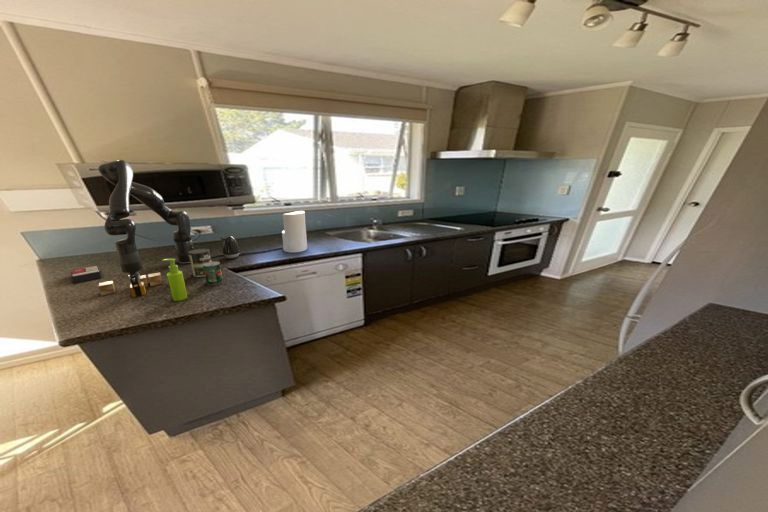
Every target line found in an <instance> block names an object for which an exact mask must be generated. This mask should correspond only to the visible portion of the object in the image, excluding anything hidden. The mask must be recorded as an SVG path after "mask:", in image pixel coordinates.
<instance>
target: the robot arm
mask: <svg viewBox="0 0 768 512" xmlns="http://www.w3.org/2000/svg"><path fill="white" fill-rule="evenodd" d="M98 172H99V174H100V175H101V176H102V177H103V178H104V179H105V180H106V181H108V182H109V183H111V184H112V185H114V186H115V188H114V189H113V191H112V192H111V194H110V196H109V199H108V211H109V212H108V215H107V218H106V220H105V222H104V225H103V227H104V232H105V233H106V234H107V235H109V236H114V237H115V236H123V235H126V237H125V238H121V239H118V240H116V241H115V242H114V246H115V249H116V251H117V252H116V253H117V258H118V262H119V265H120V269H121V272H122V273H124V274H125V273H126V274H128V275H127V276H128V280H129V281H130V284H132V287H133V289H134V290H135V294H136V297H140V295H141V296H143V295H142V293H141V289H140V276H141V274H140V272H139V271H141V270H142V269H143V264H142V260H141V257H140V253H139V251H138V248H137V244H136V231H137V230H136V229H137V224H136V223H135V222H134V220H132V219H131V218H128V217H130V216H131V208H130V207H131V205H130V197H131V196H132V197H133V198H135V199H136V200H137V201H139V202H140V203H141V204H143V205H144V206H145V207H147V208H148V209H150V210H151V211H153V213H155V214H157V215H158V216H159V217H160V218H161V219H162V220H163V221H165V222H166V223H167V224H169V225H170V226H175V227H177V230H175V231H172V238H173V242H174V247H175V251H176V255H177V256H176V257H177V260H178V264H180V265H181V264H183V265H184V264H191V262H190V257H189V253H188V252H189V251H191V250H194V249H195V248H194V244H193V240H192V235H191V234H192V233H191V231H192V228H191V221H190V217H189V213H188V212H186V211H185V210H173V209H171V208H170V207H168V206H167V205H165V201H164V198H163V196H162V195H161V194H160V193H158V192H157V191H156V190H154V189H153V188H152V187H150V186H147V185H144V184H141V183H138V182H135V181H133V179H134V170H133V167H132V165H130V163H129V162H127V161H126V160H123V159H115V160H112V161H109V162H108V161H107V162H105V163H101V164H100V165H99V166H98ZM282 249H284V248H283V246H282V247H277V248H273V249H266V250H261V251H253V252H242V253H240V252H239V255H240V256H241V255H250V254H261V253H266V252H272V251H277V250H282ZM210 257H211V259H214V258H219V257H225V256H224V254H218V255H215V256H210ZM134 285H138V286H134Z"/></svg>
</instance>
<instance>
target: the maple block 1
mask: <svg viewBox="0 0 768 512" xmlns="http://www.w3.org/2000/svg"><path fill="white" fill-rule="evenodd" d="M97 287H98V291H99V293H100V296H106V295H111V294H115V293H116V286H115V283H114V281H113V280H109V281H102V282H99V283H98V285H97Z"/></svg>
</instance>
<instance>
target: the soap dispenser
mask: <svg viewBox="0 0 768 512" xmlns="http://www.w3.org/2000/svg"><path fill="white" fill-rule="evenodd" d="M175 261H177V259H176V258H164V259H162V260H161V262H169V266H168V271H169V272H167V273H166V277H167V282H168V285H169V289H170V294H171V298H172V301H174V302H181V301H184V300H186V299H188V298H189V297H188V292H187V288H186V283H185V278H184V273H183V271H182V270H179V266H178V264H175Z"/></svg>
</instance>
